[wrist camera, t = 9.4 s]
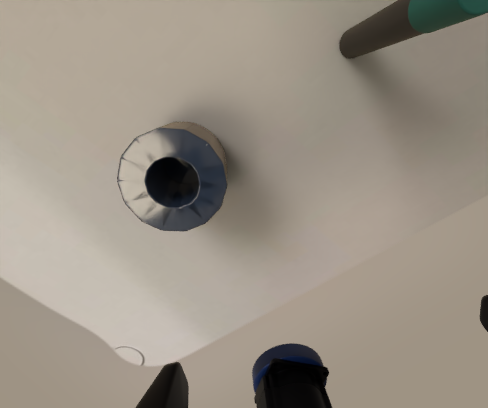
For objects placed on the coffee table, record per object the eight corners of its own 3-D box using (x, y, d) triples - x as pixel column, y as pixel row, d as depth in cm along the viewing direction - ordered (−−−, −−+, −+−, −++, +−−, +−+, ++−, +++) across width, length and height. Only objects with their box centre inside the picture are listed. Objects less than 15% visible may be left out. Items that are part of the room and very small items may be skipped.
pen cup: (235, 134, 18) (239, 146, 13) (214, 209, 20) (210, 242, 15) (153, 109, 17) (126, 112, 12) (138, 190, 19) (110, 218, 14)
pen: (370, 33, 16) (525, -42, 8) (358, 63, 17) (491, 23, 8) (345, 23, 16) (478, -66, 8) (333, 54, 17) (446, 3, 8)
